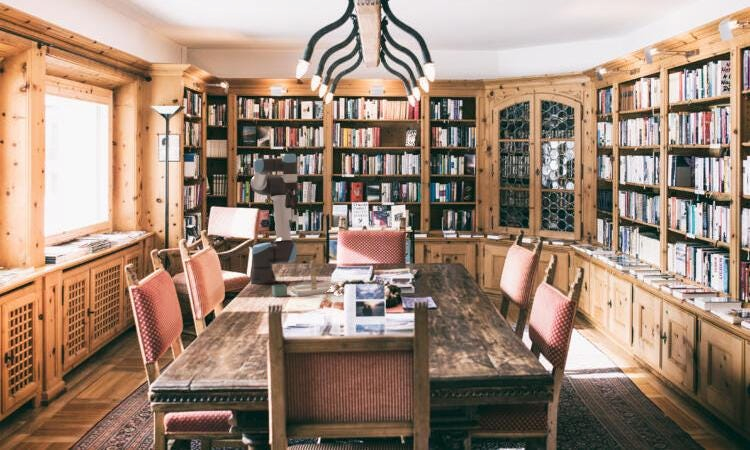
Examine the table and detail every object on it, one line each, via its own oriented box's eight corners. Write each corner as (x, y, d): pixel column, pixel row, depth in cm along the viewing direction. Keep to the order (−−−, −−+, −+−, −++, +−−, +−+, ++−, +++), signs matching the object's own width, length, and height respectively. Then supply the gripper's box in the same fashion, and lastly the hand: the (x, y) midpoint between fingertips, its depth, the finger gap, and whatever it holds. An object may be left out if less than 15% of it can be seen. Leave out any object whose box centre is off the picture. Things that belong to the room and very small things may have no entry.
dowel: (310, 289, 375) (309, 260, 373) (315, 289, 376) (314, 260, 374) (312, 290, 372) (310, 261, 371) (317, 290, 373) (315, 260, 372)
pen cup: (272, 294, 370) (271, 285, 370) (284, 293, 372) (283, 284, 372) (275, 296, 364) (274, 287, 363) (287, 295, 366) (286, 286, 366)
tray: (290, 291, 377) (290, 287, 377) (329, 287, 385) (328, 283, 385) (298, 296, 363) (298, 291, 362) (338, 291, 371) (337, 287, 370)
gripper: (278, 182, 389) (280, 219, 391) (289, 182, 366) (291, 222, 367) (291, 181, 392) (293, 218, 393) (303, 181, 368) (304, 221, 370)
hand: (292, 220), depth 380 cm, fingers open, 13 cm apart
